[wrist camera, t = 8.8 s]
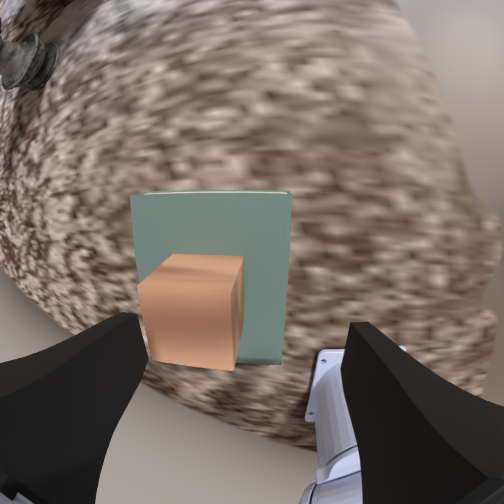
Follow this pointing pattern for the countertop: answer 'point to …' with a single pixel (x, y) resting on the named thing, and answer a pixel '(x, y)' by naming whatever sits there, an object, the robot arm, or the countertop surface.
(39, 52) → the salt shaker
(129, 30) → the countertop surface
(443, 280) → the countertop surface
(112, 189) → the countertop surface
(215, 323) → the block
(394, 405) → the robot arm
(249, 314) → the book
